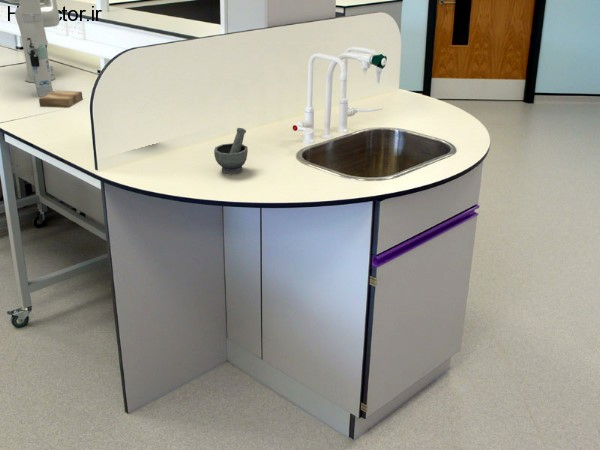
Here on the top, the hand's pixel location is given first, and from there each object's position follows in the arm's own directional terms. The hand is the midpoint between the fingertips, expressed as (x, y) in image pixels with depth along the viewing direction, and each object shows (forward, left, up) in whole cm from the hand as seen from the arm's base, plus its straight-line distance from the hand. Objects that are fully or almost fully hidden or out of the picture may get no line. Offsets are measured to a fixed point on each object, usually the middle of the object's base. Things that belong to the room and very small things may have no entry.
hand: (40, 64), depth 284 cm
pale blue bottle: (0, 0, -13) cm, 13 cm away
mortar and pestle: (+74, +97, -13) cm, 123 cm away
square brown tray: (+10, +12, -13) cm, 20 cm away
